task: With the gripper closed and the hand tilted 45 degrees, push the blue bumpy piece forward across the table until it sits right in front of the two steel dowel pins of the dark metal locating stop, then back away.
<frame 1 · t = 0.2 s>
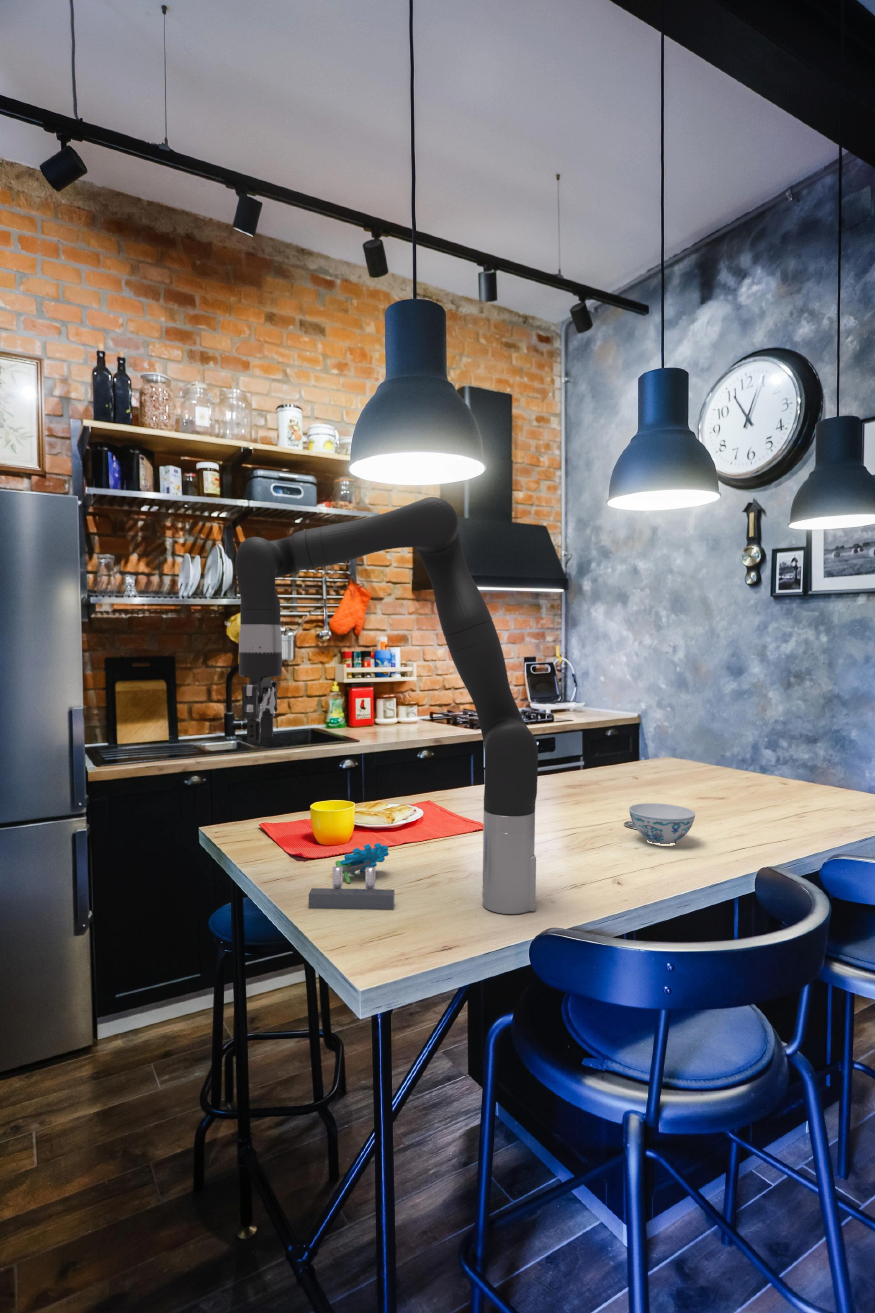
hand: (260, 740, 130), 29 cm above the table, tool pointing down, fingers open, 8 cm apart
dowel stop: (353, 902, 130), on the table
blue bumpy piece: (362, 878, 144), on the table
chinaware: (661, 843, 171), on the table
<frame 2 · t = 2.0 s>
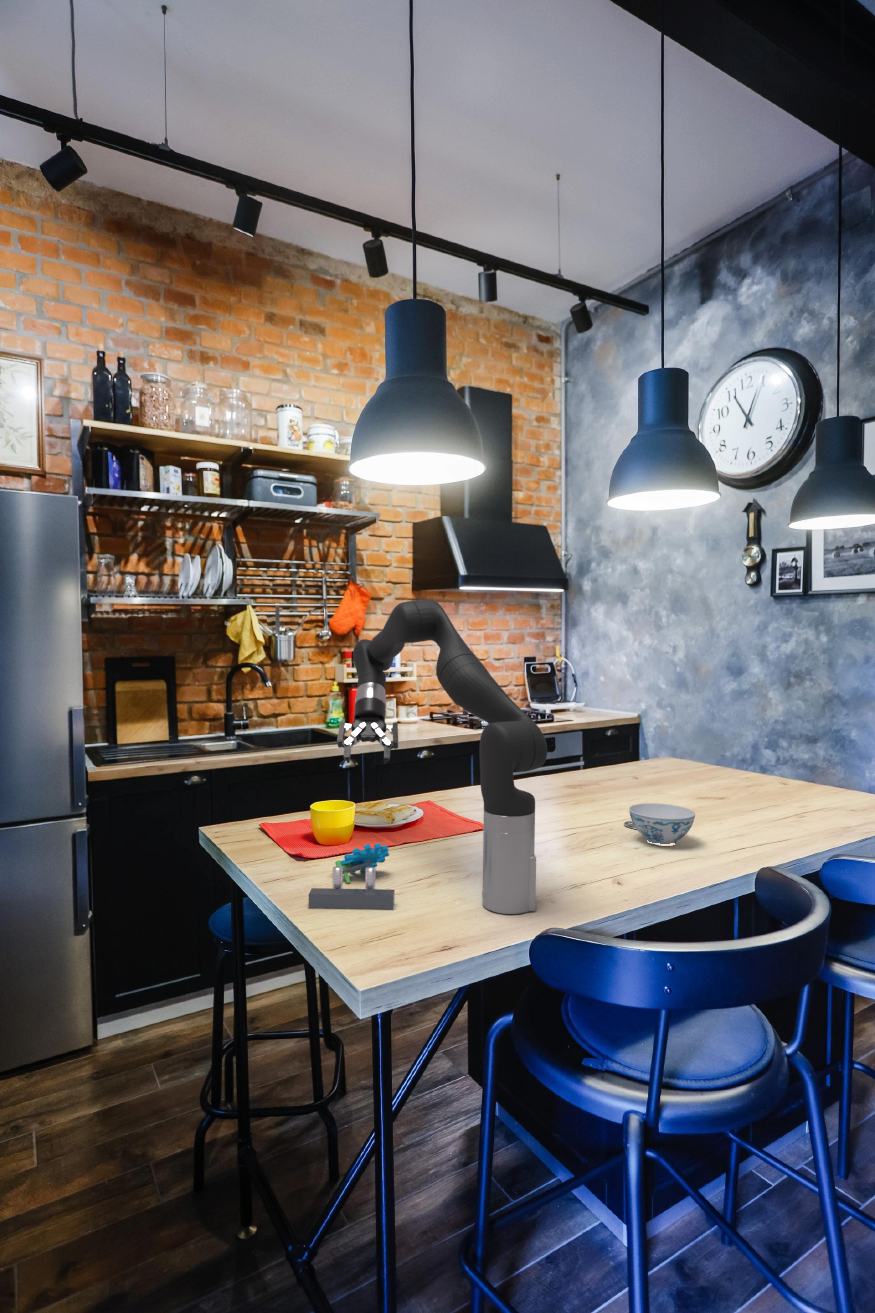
hand: (366, 761, 165), 19 cm above the table, tool tilted 45°, fingers open, 8 cm apart
nothing on the table moved.
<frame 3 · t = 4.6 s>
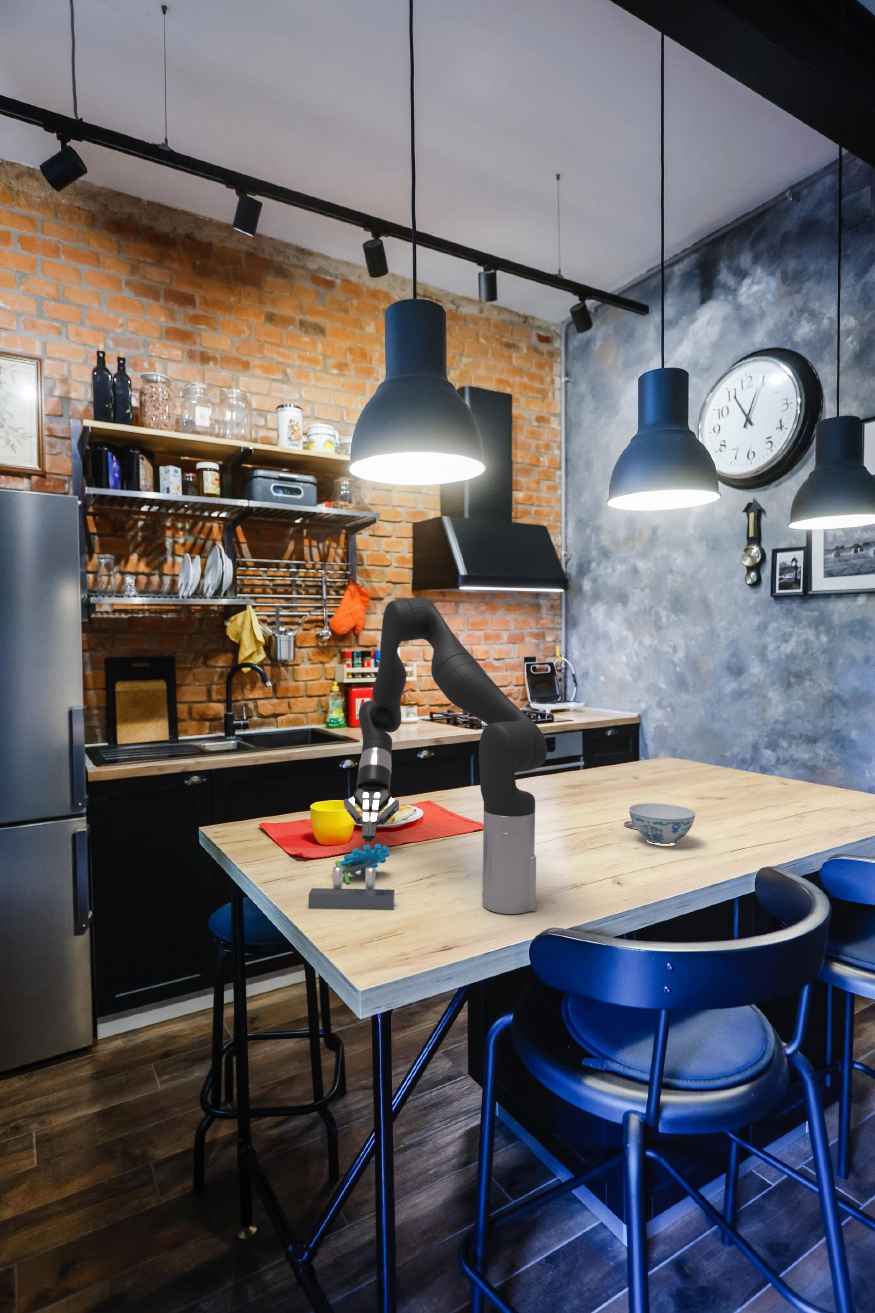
hand: (368, 839, 154), 5 cm above the table, tool tilted 45°, fingers closed
nothing on the table moved.
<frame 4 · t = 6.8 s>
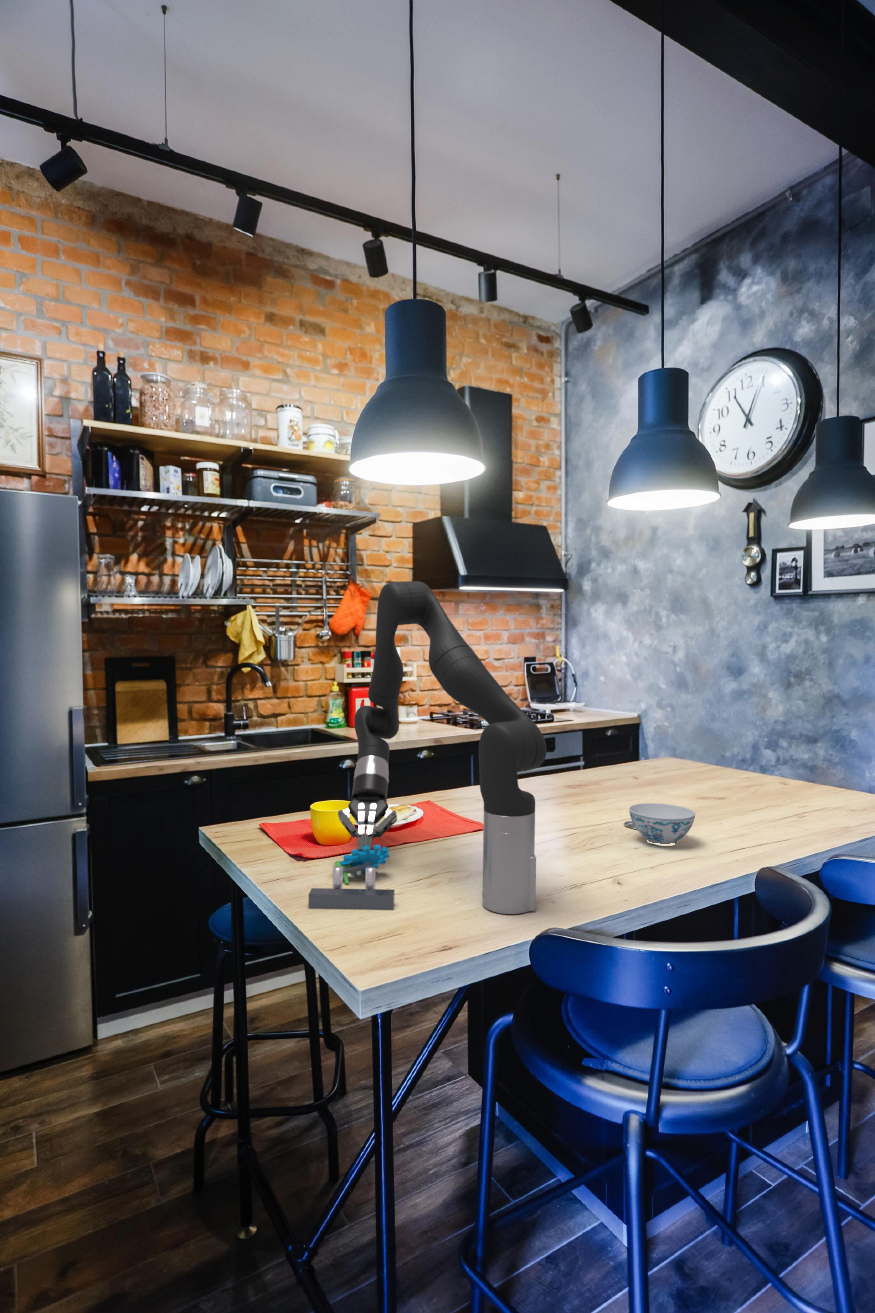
hand: (363, 854, 145), 4 cm above the table, tool tilted 45°, fingers closed
blue bumpy piece: (362, 879, 143), on the table, touching gripper
everything else where it was.
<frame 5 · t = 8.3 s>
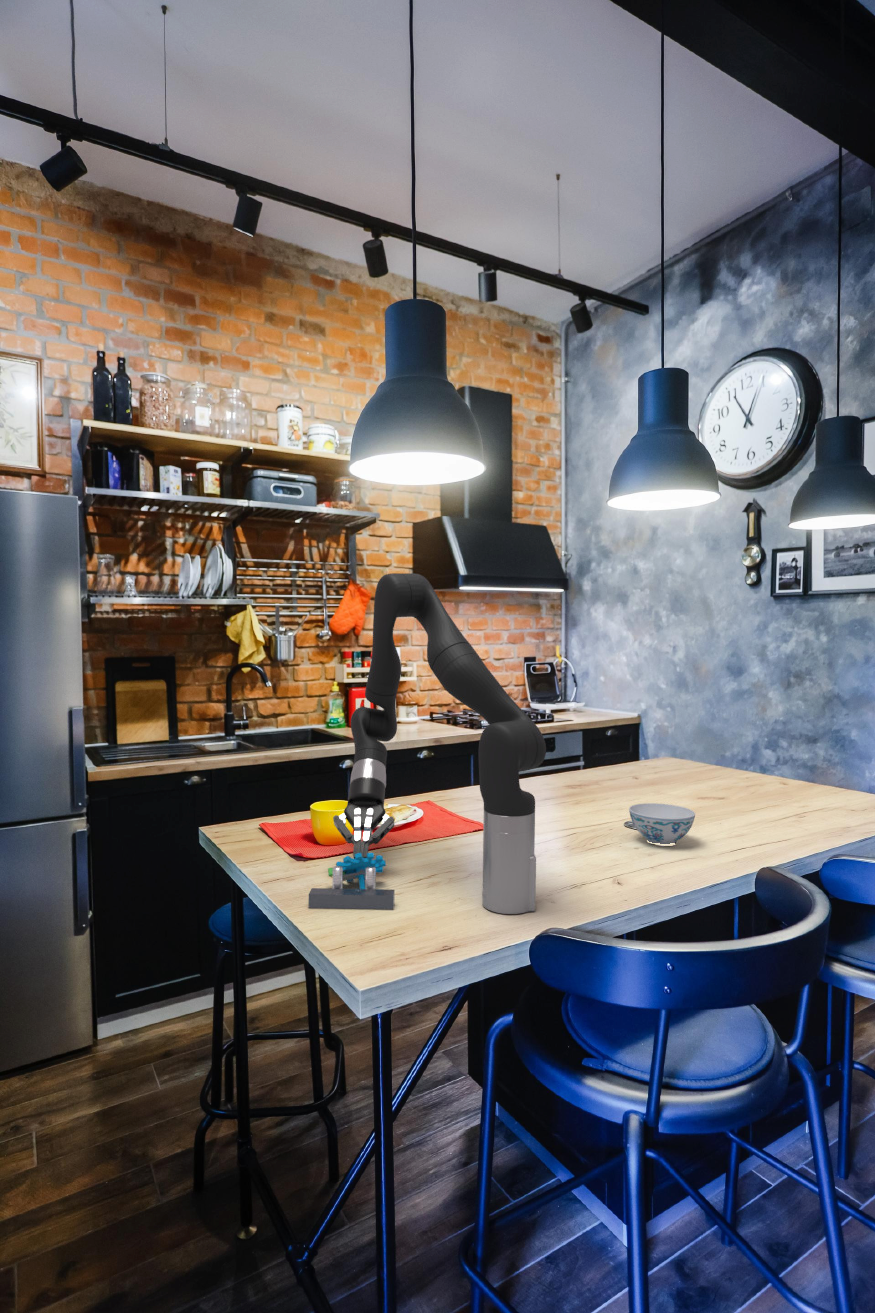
hand: (359, 861, 140), 4 cm above the table, tool tilted 45°, fingers closed
blue bumpy piece: (357, 888, 138), on the table
everything else where it was.
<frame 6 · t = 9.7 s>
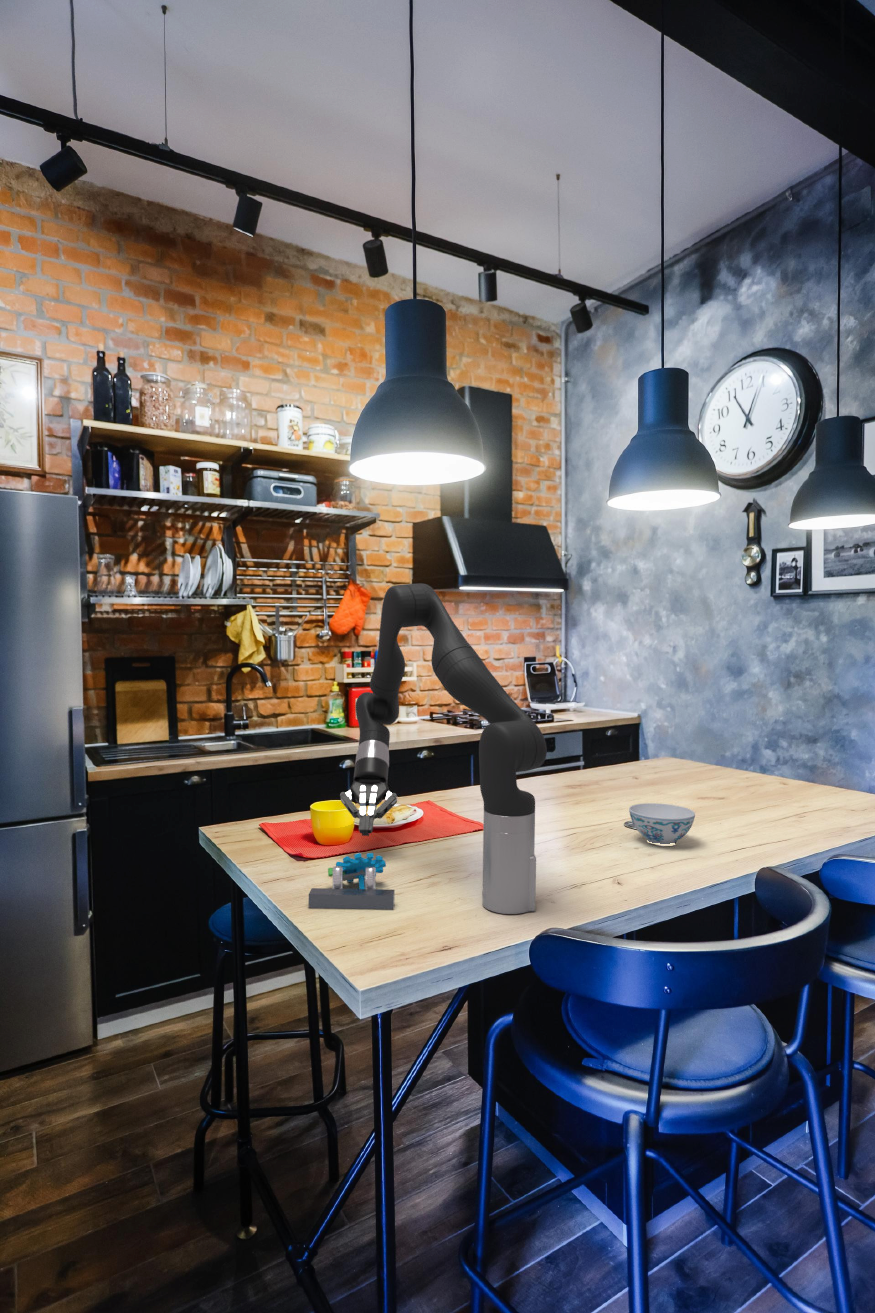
hand: (365, 834, 150), 7 cm above the table, tool tilted 45°, fingers closed
nothing on the table moved.
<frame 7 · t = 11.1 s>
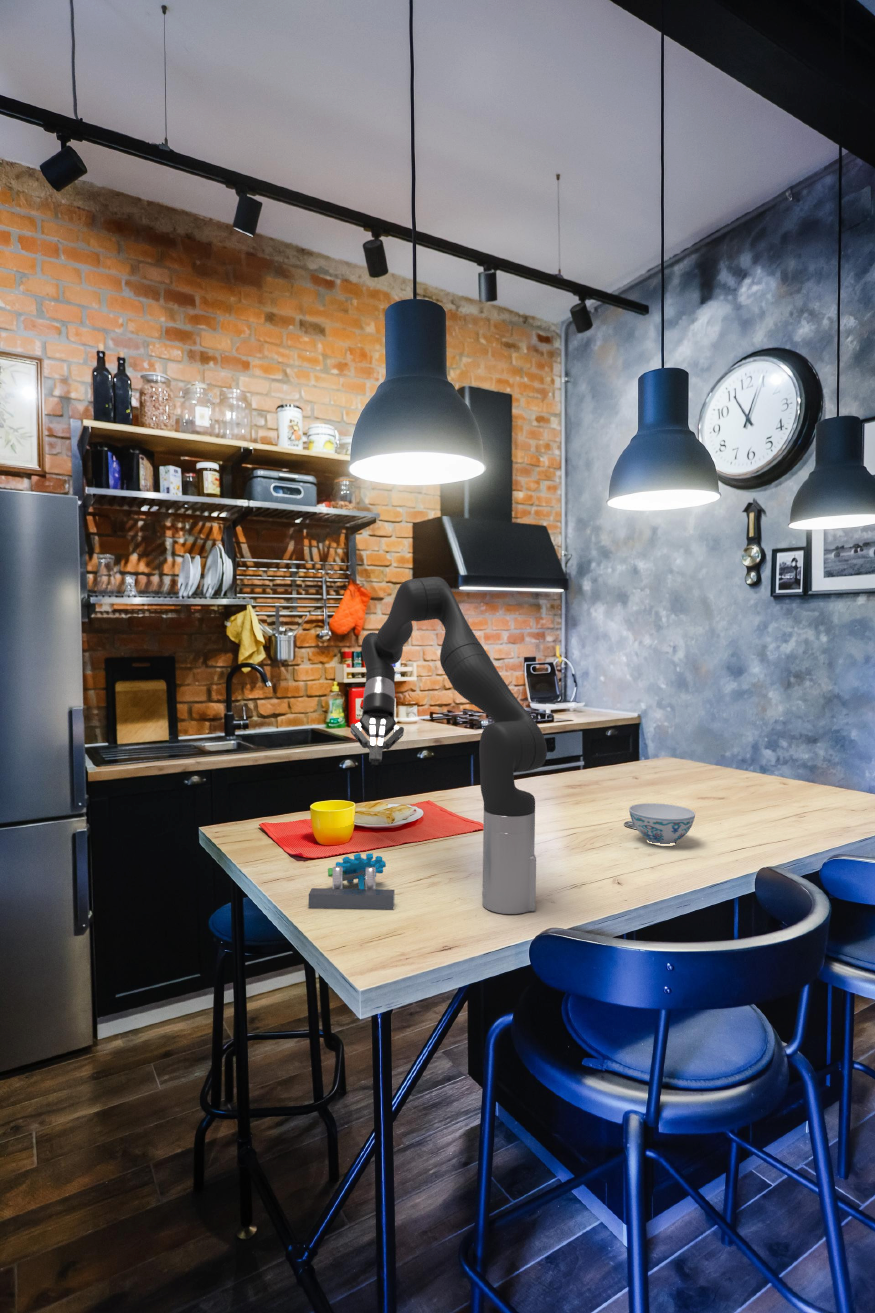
hand: (375, 762, 161), 20 cm above the table, tool tilted 40°, fingers closed
nothing on the table moved.
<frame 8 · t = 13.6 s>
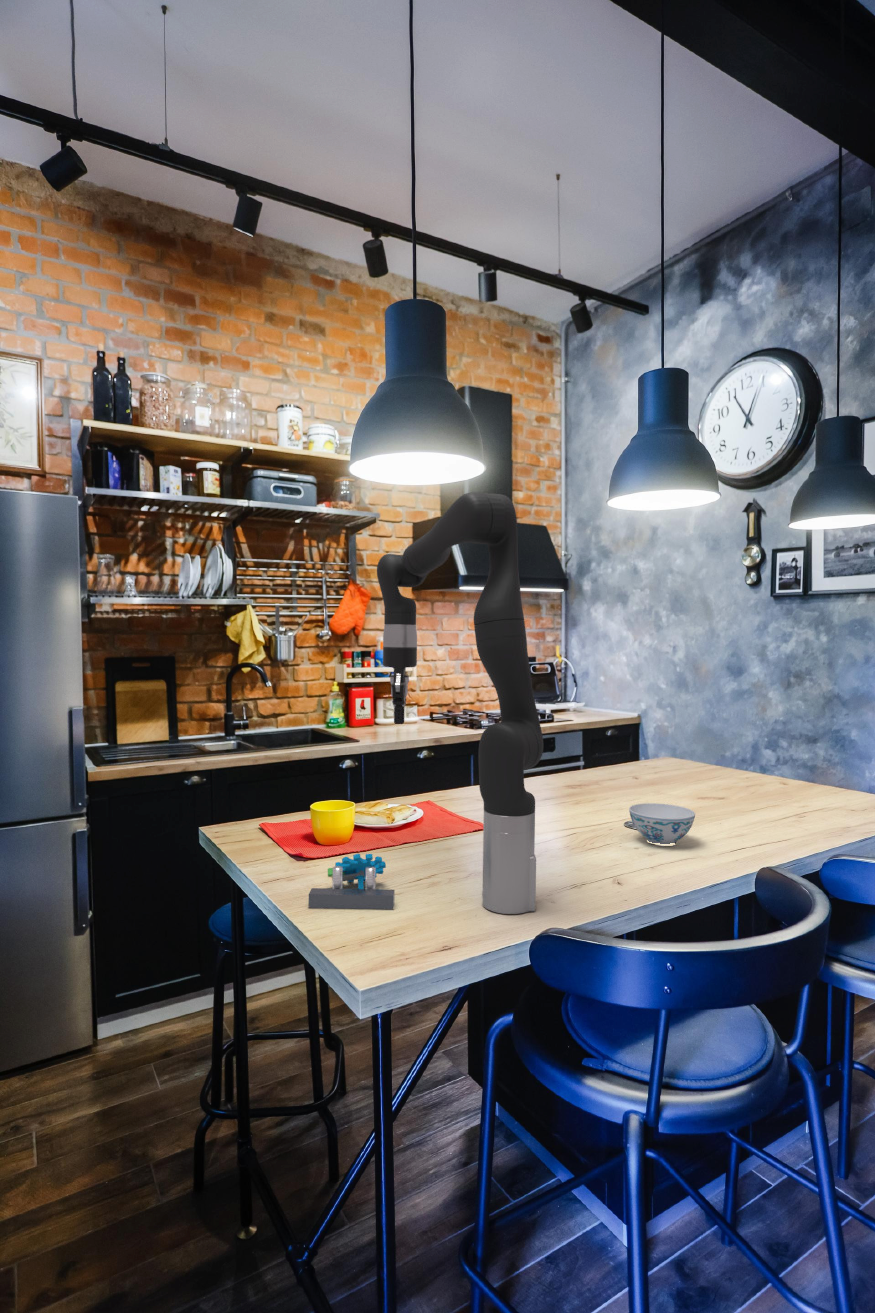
hand: (399, 723, 159), 29 cm above the table, tool pointing down, fingers closed
nothing on the table moved.
at the end: blue bumpy piece inside the target area (0.4 cm from its centre), on the table; blue bumpy piece tilted 0°; blue bumpy piece moved 6.2 cm from its start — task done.
